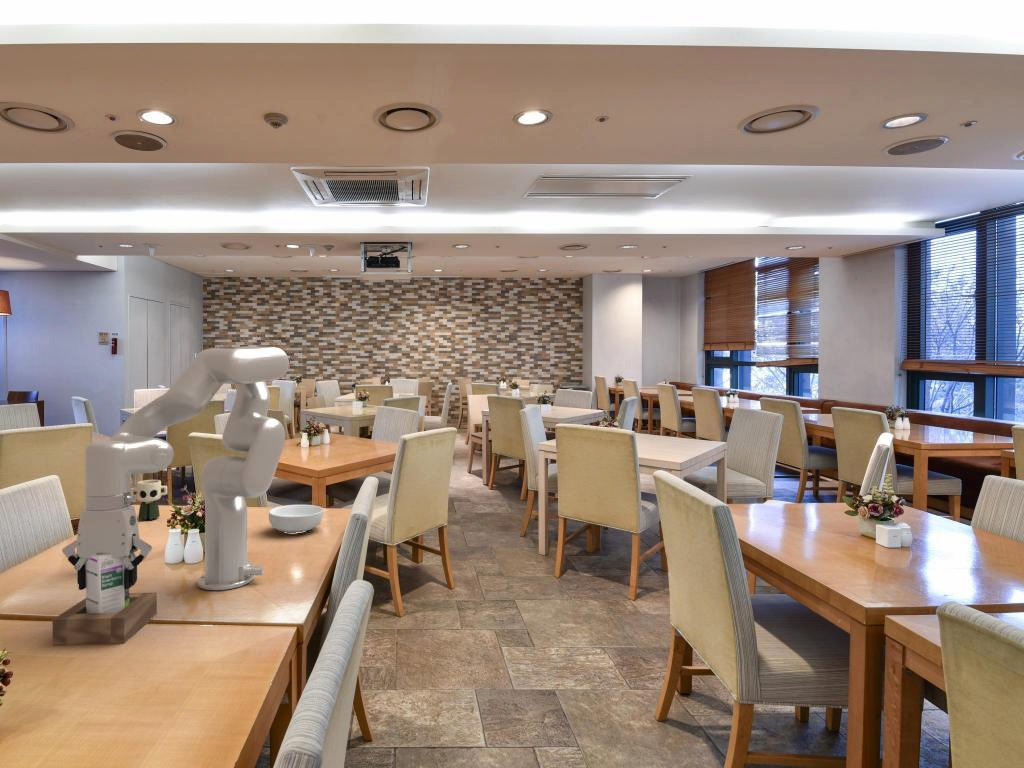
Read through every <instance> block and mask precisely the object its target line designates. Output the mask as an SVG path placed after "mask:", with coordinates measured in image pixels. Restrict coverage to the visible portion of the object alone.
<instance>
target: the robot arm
mask: <svg viewBox="0 0 1024 768" xmlns="http://www.w3.org/2000/svg"><path fill="white" fill-rule="evenodd" d="M288 356H289V355H287V353H286V352H285V350H283V349H281V348H280V347H277V346H255V345H253V346H252V345H251V346H249V345H248V346H239V347H235V348H221V347H219V348H218V347H216V348H213V347H212V348H207V349H204V350H202V351H200V352H199V353H197V355H196V356H195V357H194V358H193V359H192V361H191V362H190V363H189V364H188V365H187V367H186V368H185V369H184V371H182V373H181V374H180V375H179V376H178V378H177V379H176V380H175V381H174V383H173V384H172V386H170V388H169V389H168V390H167V391H166V392H164V394H162V395H160V396H158V397H157V398H155V399H153V400H152V401H151V402H149V403H148V404H146V405H144V406H143V407H141V408H139V409H138V410H136V411H134V412H133V414H131V415H130V416H129V417H128V418H127V419H126V420H125V421H124V422H123V423H122V425H121V426H120V427H119V428H118V429H117V430H116V432H115V433H113V436H112V437H111V438H110V440H99V441H94V442H91V443H89V444H87V446H86V448H85V457H84V459H85V460H84V461H85V465H84V466H85V468H84V469H85V473H84V474H85V477H84V479H85V480H84V481H85V483H84V487H85V488H84V489H85V490H84V491H85V492H84V493H85V495H84V497H85V498H84V502H85V504H84V505H85V507H84V509H82V511H81V513H80V517H79V520H78V529H77V533H76V534H77V535H76V540H74V541H72V542H71V543H69V544H67V545H66V546H65V547H63V548H62V549H61V551H62V553H63V555H64V556H65V557H66V558H67V560H68V562H69V563H70V564H71V565H72V566H73V567H74V570H76V572H77V580H76V581H77V585H78V590H79V591H83V590H86V565H85V563H86V561H87V559H90V558H91V556H93V554H107V555H111V556H112V558H114V559H121V560H122V561H123V563H124V564H125V566H126V567H127V569H126V570H124V589H129V590H130V588H132V587H134V586H135V584H136V583H137V581H138V566H139V565H140V564H141V563H143V561H144V560H145V559H146V558H147V556H148V555H149V553H151V551H152V550H153V546H152V545H150V544H149V543H148V542H146V541H144V540H143V539H141V538H140V532H139V531H140V530H139V522H138V516H137V512H136V509H135V506H134V505H131V504H135V503H136V502H137V497H136V496H131V492H130V489H131V475H133V474H153V473H158V472H160V471H163V470H165V469H166V468H168V467H169V466H170V464H171V463H172V462H173V460H174V456H175V452H174V448H173V447H172V445H171V444H170V443H169V442H168V441H167V440H164V439H162V438H159V437H155V436H157V434H159V433H160V432H161V431H163V430H164V429H167V428H169V427H171V426H173V425H176V424H180V423H181V422H184V421H188V420H190V419H193V418H195V417H197V416H199V415H201V414H202V412H203V411H204V410H205V408H206V407H207V406H208V404H209V403H210V402H211V401H212V399H213V398H214V396H215V395H216V394H217V392H218V391H219V390H220V388H221V387H222V386H223V385H225V384H226V385H229V384H230V385H235V398H234V401H233V402H234V403H233V405H232V407H231V410H230V413H229V416H228V419H227V420H226V423H225V426H224V429H223V432H222V438H221V442H222V444H223V446H224V447H225V448H226V449H227V450H229V451H232V452H236V453H240V454H241V453H243V454H247V455H246V457H243V456H235V455H219V456H214V457H212V458H211V459H209V460H208V461H206V463H205V464H204V465H203V467H202V469H201V473H200V484H201V489H202V494H203V498H204V507H205V508H204V512H205V513H204V514H205V515H204V517H205V522H204V523H205V525H204V531H205V533H204V574H203V575H201V576H200V577H199V578H198V579H197V586H198V588H200V589H202V590H208V591H225V590H231V589H237V588H239V587H242V586H245V585H247V584H249V583H250V582H252V581H253V580H254V576H263V575H264V574H265V568H264V567H263V566H262V565H261V564H260V565H259V564H258V565H256V564H255V565H253V564H251V563H252V561H251V559H248V507H247V502H246V499H245V498H248V499H249V498H250V499H256V498H260V497H261V496H263V495H265V493H266V492H267V491H268V490H269V488H270V487H271V485H272V483H273V479H274V477H275V473H276V471H277V469H278V465H279V463H280V459H281V456H282V453H283V450H284V447H285V443H286V431H285V428H284V425H283V424H282V423H281V421H280V420H278V419H277V418H274V417H269V416H267V415H268V413H269V410H270V407H271V393H270V390H269V387H268V385H267V382H272V381H277V380H280V379H282V378H283V377H285V375H286V373H288V370H289V367H290V360H289V357H288ZM75 550H76V551H75ZM139 550H140V552H139V553H138V555H136V553H137V552H138V551H139ZM135 552H136V553H135Z"/></svg>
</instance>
